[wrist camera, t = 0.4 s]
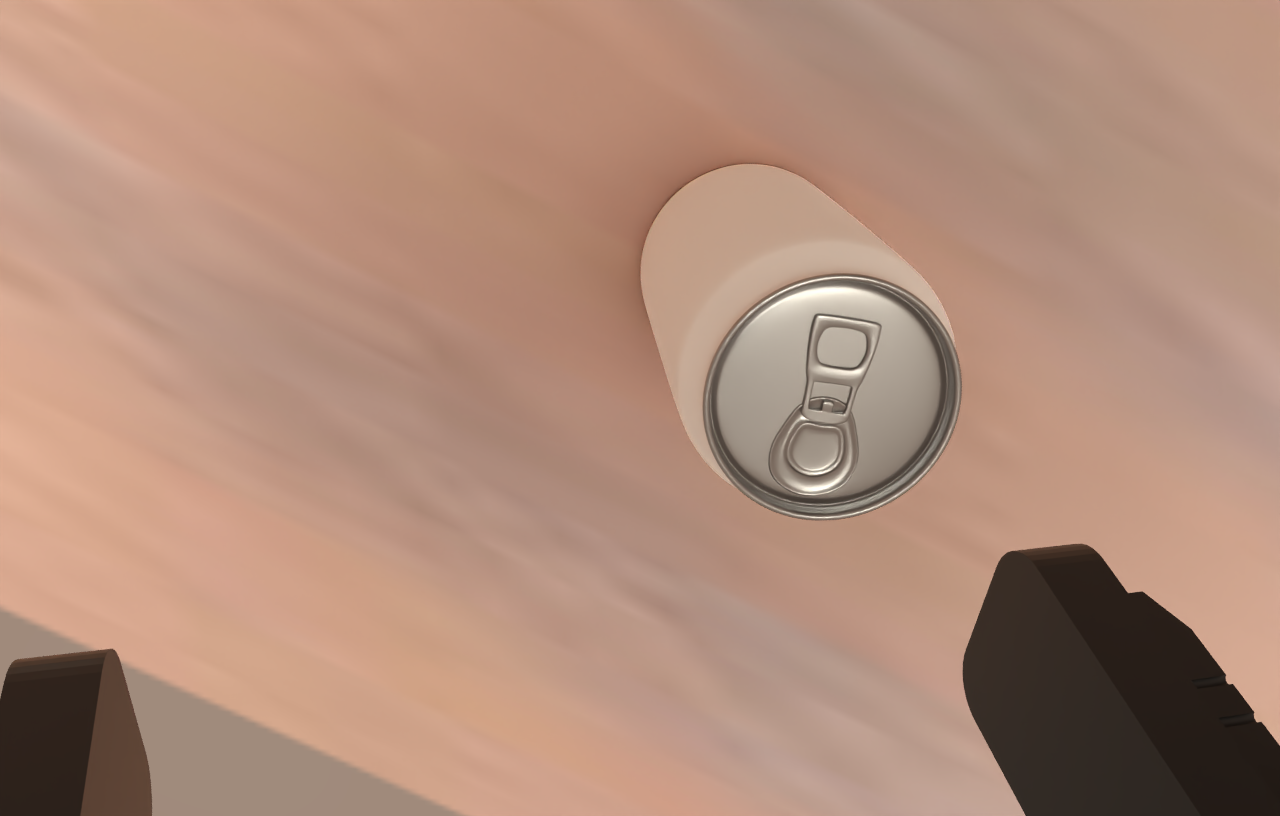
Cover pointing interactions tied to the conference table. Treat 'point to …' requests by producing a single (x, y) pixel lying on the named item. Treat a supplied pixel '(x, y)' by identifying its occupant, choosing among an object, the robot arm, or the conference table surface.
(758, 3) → the conference table surface
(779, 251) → the can
